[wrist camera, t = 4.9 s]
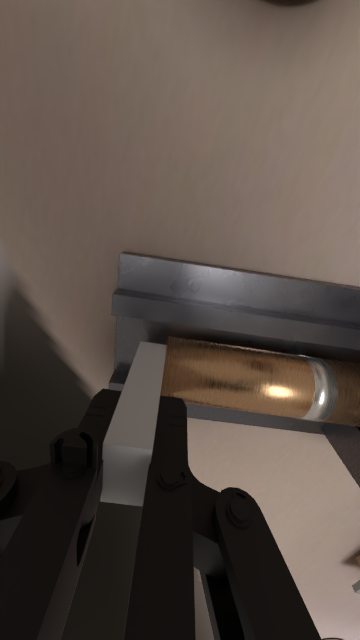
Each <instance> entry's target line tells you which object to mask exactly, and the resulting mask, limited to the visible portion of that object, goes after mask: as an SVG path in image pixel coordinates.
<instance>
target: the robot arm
mask: <svg viewBox="0 0 360 640" xmlns="http://www.w3.org/2000/svg"><path fill="white" fill-rule="evenodd" d="M166 348H167V345H163V344H156V343H149V342H142V341H140V344H139V347H138V349H137V352H136V355H135V358H134V360H133V363H132V366H131V368H130V371H129V374H128V377H127V379H126V382H125V385H124V388H123V390H122V391H117V390H109V389H102V390H101V391H100V392H98V393H97V394H96V395H95V396H94V397H93V399H92V401H91V403H90V405H89V407H88V409H87V411H86V413H85V415H84V417H83V419H82V421H81V422H80V425H79V426H78V428H73V429H70V430H67V431H64V432H63V433H61V434H60V435H58V436H56V437H55V438H54V440H53V441H52V442H51V443H50V455H51V462H50V463H48V464H46V465H42V466H39V467H34V468H29V469H23V470H18V471H16V468H15V466H13V465H12V464H11V463H10V462H5V461H0V640H60V639H61V635H62V632H63V628H64V625H65V621H66V618H67V615H68V611H69V608H70V605H71V601H72V598H73V595H74V591H75V588H76V584H77V581H78V578H79V574H80V571H81V567H82V564H83V561H84V557H85V554H86V551H87V547H88V544H89V540H90V537H91V534H92V530H93V527H94V524H95V517H96V508H97V505H98V502H99V498H100V495H101V502H110V503H118V504H127V505H136V506H143V508H142V515H141V522H140V529H139V535H138V542H137V549H136V556H135V563H134V569H133V576H132V583H131V590H130V597H129V603H128V610H127V617H126V625H125V631H124V638H123V640H195V608H194V570H193V569H194V567H195V568H197V569H199V571H200V575H201V580H202V584H203V589H204V593H205V598H206V603H207V607H208V612H209V616H210V621H211V626H212V630H213V634H214V640H321V638H320V635H319V633H318V631H317V629H316V627H315V625H314V623H313V620H312V618H311V616H310V614H309V612H308V610H307V608H306V605H305V603H304V601H303V599H302V597H301V595H300V593H299V591H298V588H297V586H296V584H295V582H294V580H293V578H292V576H291V573H290V571H289V569H288V567H287V565H286V563H285V561H284V558H283V556H282V554H281V552H280V550H279V548H278V546H277V544H276V541H275V539H274V537H273V535H272V533H271V531H270V529H269V526H268V524H267V522H266V520H265V518H264V516H263V514H262V511H261V509H260V507H259V506H258V504H257V503H256V501H255V500H254V498H252V497H251V496H250V495H249V494H248V493H247V492H245V491H243V490H241V489H239V488H233V487H229V488H226V489H224V490H222V491H221V492H218V491H216V490H214V489H212V488H209V487H207V486H205V485H204V484H202V483H201V482H199V481H198V480H197V479H196V478H195V477H194V475H193V474H192V472H191V471H190V468H189V465H188V449H187V407H186V405H185V403H184V401H183V399H182V398H175V397H167V396H160V393H161V386H162V378H163V371H164V364H165V356H166ZM193 566H194V567H193Z"/></svg>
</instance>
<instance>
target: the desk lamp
mask: <svg viewBox="0 0 360 640" xmlns="http://www.w3.org/2000/svg"><path fill="white" fill-rule="evenodd" d="M356 560H357V562H358V564H359V566H360V555H359V556H357V557H356ZM352 587H353V589H354V591H355V592H356V593H360V580H359V581H358V582H356V583H355V584H354V585H352Z"/></svg>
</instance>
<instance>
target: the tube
mask: <svg viewBox="0 0 360 640" xmlns="http://www.w3.org/2000/svg"><path fill="white" fill-rule="evenodd" d="M160 396H167V397H175V398H182V399H183V401H184V403H189V404H196V405H204V406H211V407H218V408H226V409H233V410H240V411H248V412H255V413H262V414H270V415H277V416H285V417H292V418H296V419H304V420H311V421H321V422H329V423H336V424H343V425H351V426H358V427H360V364H355V363H348V362H342V361H335V360H328V359H321V358H317V357H310V356H303V355H294V354H287V353H280V352H274V351H267V350H260V349H253V348H246V347H240V346H233V345H226V344H219V343H212V342H206V341H199V340H192V339H185V338H178V337H172V336H168V341H167V348H166V356H165V364H164V371H163V378H162V386H161V393H160Z"/></svg>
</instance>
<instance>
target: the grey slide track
mask: <svg viewBox="0 0 360 640" xmlns="http://www.w3.org/2000/svg"><path fill="white" fill-rule="evenodd" d="M112 315H116V316H117V323H116V343H115V364H114V373H113V375H112V377H111V379H110V381H109V390H117V391H122V390H123V388H124V385H125V382H126V379H127V377H128V374H129V371H130V368H131V366H132V363H133V360H134V358H135V355H136V352H137V349H138V347H139V344H140V341H142V342H149V343H156V344H163V345H167V341H168V336H172V337H178V338H185V339H192V340H199V341H206V342H212V343H219V344H226V345H233V346H240V347H246V348H253V349H260V350H267V351H274V352H280V353H287V354H294V355H303V356H310V357H317V358H321V359H328V360H335V361H342V362H348V363H355V364H360V287H354V286H347V285H341V284H334V283H327V282H321V281H314V280H308V279H301V278H295V277H288V276H281V275H275V274H268V273H262V272H255V271H248V270H242V269H235V268H229V267H222V266H216V265H209V264H202V263H196V262H189V261H183V260H176V259H170V258H163V257H156V256H150V255H143V254H137V253H130V252H122V253H120V261H119V281H118V289H117V290H116V291H115V292H114V293H113V294H112ZM185 405H186V407H187V417H188V418H196V419H204V420H212V421H220V422H228V423H236V424H244V425H252V426H260V427H268V428H276V429H284V430H292V431H300V432H308V433H316V434H324V435H325V436H326V438H327V439H328V441H329V442H330V444H331V445H332V447H333V448H334V450H335V451H336V453H337V454H338V456H339V457H340V459H341V460H342V462H343V463H344V465H345V466H346V468H347V469H348V471H349V472H350V474H351V475H352V477H353V478H354V480H355V481H356V483H357V484H358V486H359V487H360V427H358V426H351V425H343V424H336V423H329V422H321V421H311V420H304V419H296V418H292V417H285V416H277V415H270V414H262V413H255V412H248V411H240V410H233V409H226V408H218V407H211V406H204V405H196V404H189V403H185Z"/></svg>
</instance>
